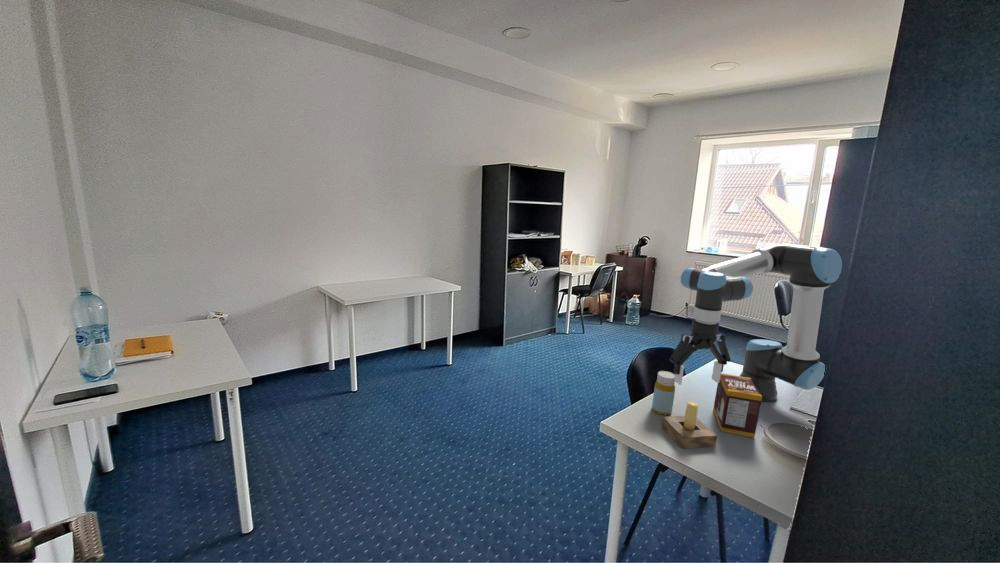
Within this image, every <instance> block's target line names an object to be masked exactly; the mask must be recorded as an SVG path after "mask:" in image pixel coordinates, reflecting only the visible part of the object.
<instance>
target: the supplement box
mask: <svg viewBox="0 0 1000 563" xmlns="http://www.w3.org/2000/svg"><path fill="white" fill-rule="evenodd" d="M762 402H763V401H762V396H761V394H760V393H759V391H758V390H757V388H756V386H755V385H754V383H753V382H752V380H751V378H748V377H741V376H740V375H735V374H728V373H723V372H721V375H720V381H719V383H717V387H716V391H715V398H714V402H713V414H714V415H715V418H716V422H717V423H718V427H719V430H720V431H721V432H724V433H730V434H733V435H739V436H743V437H744V436H745V437H749V438H755V437H756V431H757V425H758V422H759V415H760V412H761V411H760V410H761V405H762Z"/></svg>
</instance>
